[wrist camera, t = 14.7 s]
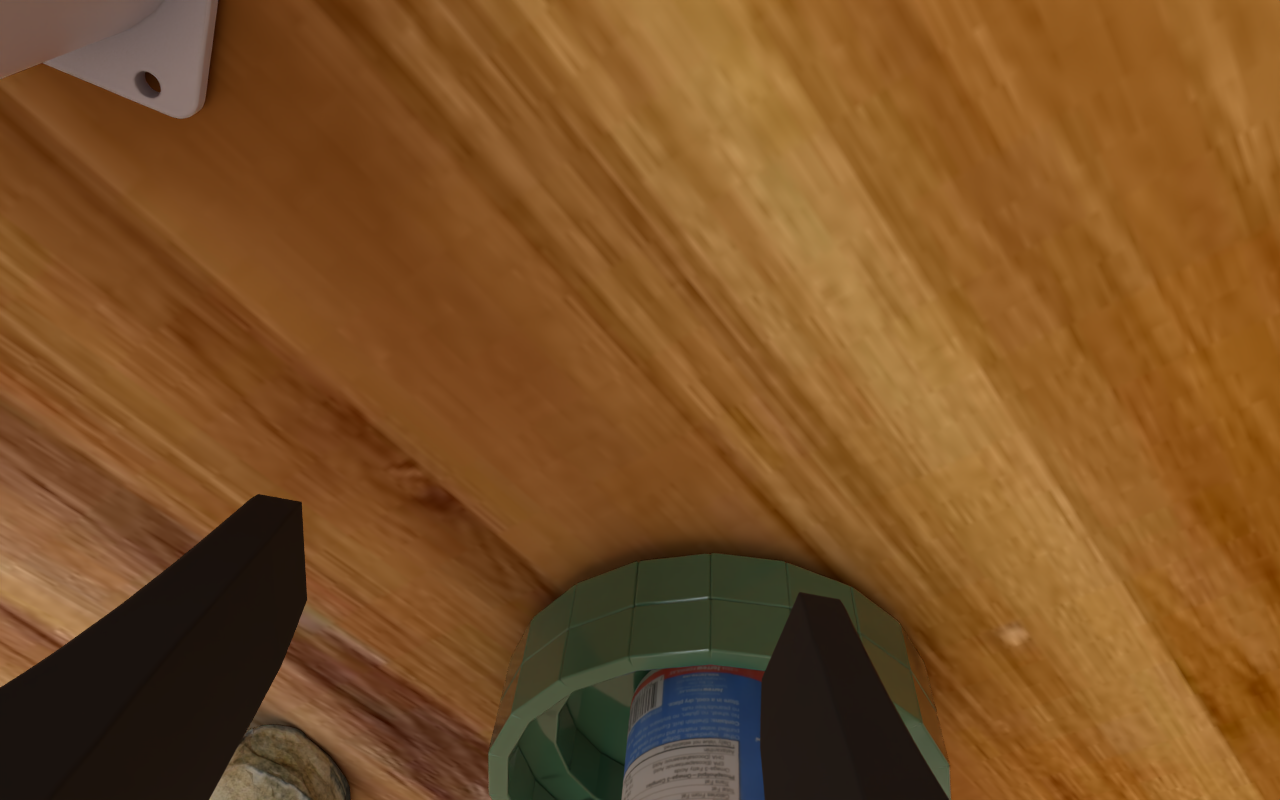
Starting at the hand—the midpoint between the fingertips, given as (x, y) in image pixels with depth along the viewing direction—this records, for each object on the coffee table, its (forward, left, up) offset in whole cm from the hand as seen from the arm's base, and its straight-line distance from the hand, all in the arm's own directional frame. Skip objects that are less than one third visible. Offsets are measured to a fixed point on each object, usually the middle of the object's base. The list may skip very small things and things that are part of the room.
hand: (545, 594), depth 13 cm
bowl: (+9, -12, -9) cm, 17 cm away
